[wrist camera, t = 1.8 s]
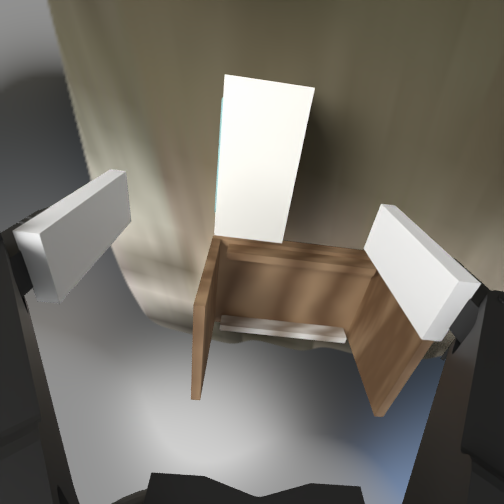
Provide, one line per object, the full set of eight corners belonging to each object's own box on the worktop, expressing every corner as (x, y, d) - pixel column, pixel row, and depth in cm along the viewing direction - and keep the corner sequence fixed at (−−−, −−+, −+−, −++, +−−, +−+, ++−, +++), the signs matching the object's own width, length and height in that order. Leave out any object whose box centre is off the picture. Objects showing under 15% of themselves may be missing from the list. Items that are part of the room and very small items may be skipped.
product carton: (275, 201, 34) (282, 243, 25) (223, 194, 33) (211, 234, 25) (297, 85, 27) (314, 87, 19) (232, 75, 27) (221, 73, 19)
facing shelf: (383, 252, 37) (440, 331, 25) (350, 328, 44) (383, 416, 33) (214, 232, 36) (193, 304, 24) (208, 313, 43) (191, 399, 31)
